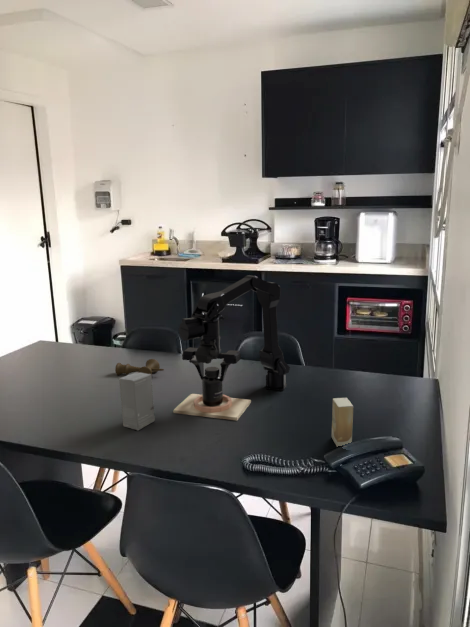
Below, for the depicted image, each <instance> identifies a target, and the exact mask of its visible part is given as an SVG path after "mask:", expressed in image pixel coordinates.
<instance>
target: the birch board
mask: <svg viewBox="0 0 470 627" xmlns="http://www.w3.org/2000/svg"><path fill="white" fill-rule="evenodd" d="M199 396H202V394H199V393H190V394H189V395H188V396H187V397H186V398H185V399H184V400H182V402H181V403H179V404H178V405H177V406H176V407H175V408H174V409H173V412H172V413H173V414H179V415H189V416H197V417H204V418H205V417H206V418H212V419H213V418H214V419H221V420H229V421H238V420H239V419H240V418H241V416H242V415H243V414H244V412H245V411H246V410H247V408H248V407H249V406H250V404H251V403H252V400H251V399H247V398H238V397H237V398H235V397H230V398H231V400H232V405H231V407H230V408H229V409H227V410H224V411H221V412H213V413H209V412H201V411H199V410H197V409H195V407H194V400H195V399H196V398H197V397H199ZM226 403H227V401H224V400H223V402H222V404H221V405H218V406H222V405H224V404H226ZM198 404H199V405H202V406H206V405H204V404H203V401H201V402H199V403H198ZM206 407H217V406H206Z"/></svg>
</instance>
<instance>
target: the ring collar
mask: <svg viewBox="0 0 470 627" xmlns="http://www.w3.org/2000/svg"><path fill="white" fill-rule="evenodd" d="M231 398H232V397H230V396H229V395H226V394H223V400H224V401H227V403H226V404H224V405H222V406H217V407H206V406H202V405H199V404H198V403H199V402H201V401H202V396H199V397H197V398H196V399H195V400H194V407H195V409H197V410H199V411H201V412H209V413H213V412H221V411H224V410H227V409H229V408H230V407H231V405H232V400H231Z"/></svg>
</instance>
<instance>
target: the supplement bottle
mask: <svg viewBox="0 0 470 627" xmlns="http://www.w3.org/2000/svg"><path fill="white" fill-rule="evenodd" d="M223 382H224V380H223V381H221V371H220V368H219V367H217V366H208V367H205V368H204V377H203V379H202V380H201V383H202V384H201V387H202V388H201V389H202V391H201V395H202V401H203V404H204V405H206V406H218V405H221V404H222V402H223V395H224V394H223V393H224V391H223V390H224V389H223V387H224V385H223Z"/></svg>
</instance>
